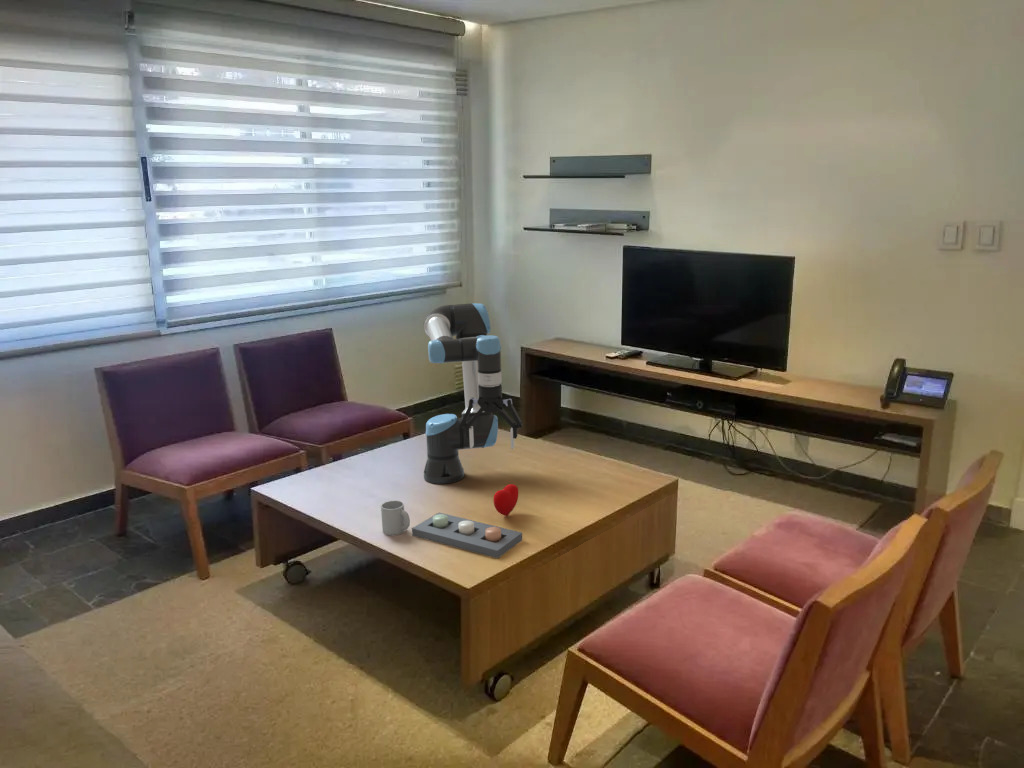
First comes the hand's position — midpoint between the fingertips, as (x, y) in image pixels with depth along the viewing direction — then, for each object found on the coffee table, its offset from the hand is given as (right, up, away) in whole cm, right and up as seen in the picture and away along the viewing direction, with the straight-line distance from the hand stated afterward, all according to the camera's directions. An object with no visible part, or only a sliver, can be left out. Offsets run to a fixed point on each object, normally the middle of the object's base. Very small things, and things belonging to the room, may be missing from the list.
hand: (492, 447), depth 260 cm
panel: (-8, -27, -13) cm, 31 cm away
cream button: (-8, -25, -13) cm, 30 cm away
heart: (+5, -23, +2) cm, 24 cm away
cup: (-30, -27, -7) cm, 41 cm away
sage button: (-16, -24, -8) cm, 30 cm away
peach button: (+1, -27, -19) cm, 32 cm away
